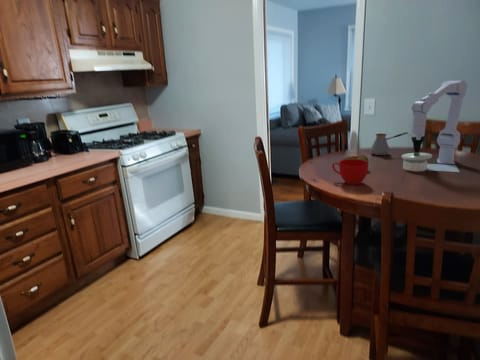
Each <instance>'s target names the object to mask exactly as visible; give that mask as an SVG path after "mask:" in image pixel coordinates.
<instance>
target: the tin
mask: <svg viewBox="0 0 480 360" xmlns="http://www.w3.org/2000/svg"><path fill="white" fill-rule="evenodd" d="M348 159H357V160H364V161H367V162H368V163H369V158H368V156H366V155H365V154H356V155H355V154H354V155H348V156H345V157H343V159H342V160H348Z"/></svg>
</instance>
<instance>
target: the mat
mask: <svg viewBox="0 0 480 360" xmlns="http://www.w3.org/2000/svg"><path fill="white" fill-rule="evenodd" d="M426 171H433V172H435V171H437V172H453V173H460V170H459V168H458V167H457V165H456V164H442V163H427V169H426Z"/></svg>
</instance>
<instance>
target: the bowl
mask: <svg viewBox="0 0 480 360" xmlns="http://www.w3.org/2000/svg"><path fill="white" fill-rule="evenodd" d="M427 164H428V160H427V159H424V160H407V159H403V163H402V169H403V170H406V171H409V172H410V171H411V172H424V171H427Z"/></svg>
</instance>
